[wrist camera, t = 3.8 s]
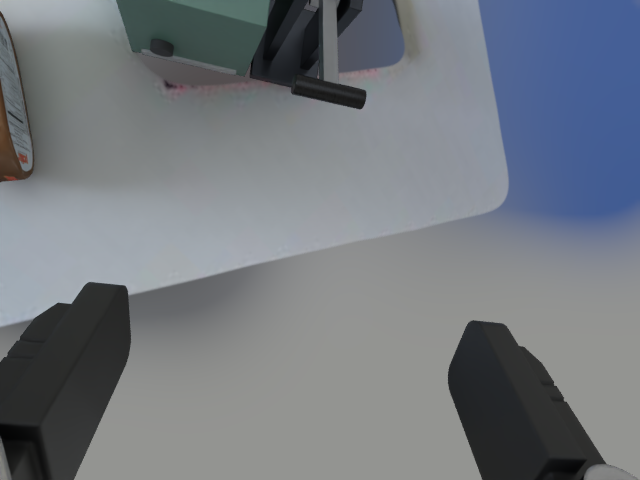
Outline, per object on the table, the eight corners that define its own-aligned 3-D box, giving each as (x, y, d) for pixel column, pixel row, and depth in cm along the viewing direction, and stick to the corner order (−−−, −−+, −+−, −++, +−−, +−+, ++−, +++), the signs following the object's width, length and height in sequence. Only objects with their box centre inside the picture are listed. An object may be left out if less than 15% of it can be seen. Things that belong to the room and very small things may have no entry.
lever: (356, 118, 32) (370, 96, 30) (288, 103, 30) (298, 79, 28) (350, -7, 37) (362, -33, 34) (291, -25, 35) (300, -54, 33)
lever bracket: (312, 92, 49) (371, 38, 34) (249, 78, 47) (281, 13, 31) (322, 19, 48) (384, -68, 33) (258, 1, 46) (295, -100, 31)
